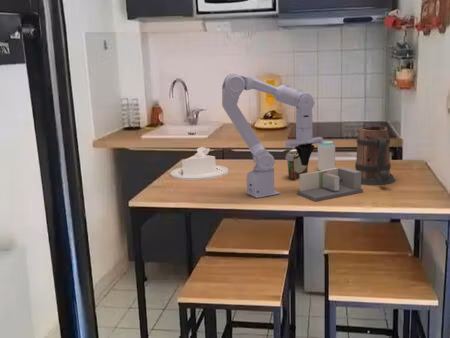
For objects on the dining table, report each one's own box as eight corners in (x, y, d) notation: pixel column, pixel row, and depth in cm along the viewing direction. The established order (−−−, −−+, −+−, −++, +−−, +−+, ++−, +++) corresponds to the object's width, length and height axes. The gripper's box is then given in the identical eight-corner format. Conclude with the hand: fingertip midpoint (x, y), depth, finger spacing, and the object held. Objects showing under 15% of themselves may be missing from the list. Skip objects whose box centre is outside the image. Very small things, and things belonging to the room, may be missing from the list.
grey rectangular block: (334, 191, 175) (334, 176, 174) (321, 186, 182) (321, 172, 180) (347, 188, 177) (347, 173, 176) (334, 184, 184) (334, 169, 183)
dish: (201, 165, 236) (200, 141, 233) (240, 172, 218) (239, 146, 215) (158, 175, 219) (156, 150, 216) (197, 184, 201) (195, 156, 199)
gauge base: (315, 201, 170) (315, 180, 168) (297, 194, 180) (296, 174, 178) (362, 192, 178) (363, 172, 176) (342, 185, 188) (343, 166, 186)
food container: (296, 173, 210) (295, 149, 208) (309, 174, 207) (309, 150, 204) (279, 179, 201) (279, 154, 199) (293, 181, 197) (292, 156, 195)
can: (316, 171, 211) (316, 143, 208) (319, 168, 217) (319, 140, 214) (333, 172, 208) (333, 143, 206) (336, 168, 215) (336, 140, 212)
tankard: (345, 175, 202) (345, 125, 198) (387, 173, 202) (388, 123, 198) (360, 191, 179) (361, 135, 175) (408, 189, 179) (410, 132, 175)
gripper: (293, 130, 172) (293, 169, 175) (328, 126, 178) (328, 164, 181) (281, 128, 178) (282, 166, 181) (316, 124, 184) (316, 160, 187)
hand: (304, 165), depth 182 cm, fingers closed
